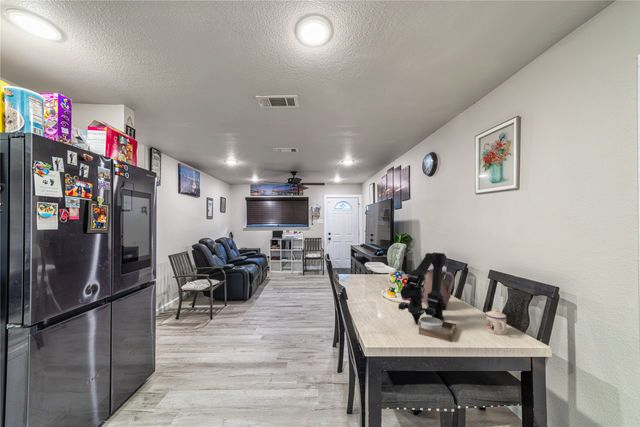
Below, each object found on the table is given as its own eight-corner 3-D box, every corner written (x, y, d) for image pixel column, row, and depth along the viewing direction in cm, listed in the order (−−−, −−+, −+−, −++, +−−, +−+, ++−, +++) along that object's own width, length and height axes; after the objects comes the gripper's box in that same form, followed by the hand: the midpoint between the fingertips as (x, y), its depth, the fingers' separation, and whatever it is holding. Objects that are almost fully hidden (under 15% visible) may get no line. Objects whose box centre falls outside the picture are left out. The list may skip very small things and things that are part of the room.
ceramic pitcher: (422, 301, 186) (421, 267, 187) (454, 305, 176) (454, 269, 177) (420, 309, 170) (419, 271, 171) (456, 313, 161) (455, 274, 162)
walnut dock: (426, 323, 146) (426, 317, 146) (456, 329, 137) (456, 323, 138) (418, 334, 132) (418, 328, 132) (451, 341, 123) (450, 335, 124)
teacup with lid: (482, 327, 139) (482, 306, 140) (500, 328, 138) (499, 306, 139) (495, 337, 128) (494, 314, 128) (514, 338, 127) (514, 314, 127)
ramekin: (434, 336, 129) (434, 326, 129) (415, 329, 138) (415, 319, 139) (447, 331, 135) (447, 321, 135) (428, 324, 144) (428, 315, 145)
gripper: (394, 296, 141) (395, 324, 140) (430, 302, 130) (430, 333, 129) (401, 291, 150) (401, 318, 149) (435, 297, 139) (435, 326, 138)
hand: (416, 324), depth 141 cm, fingers closed
